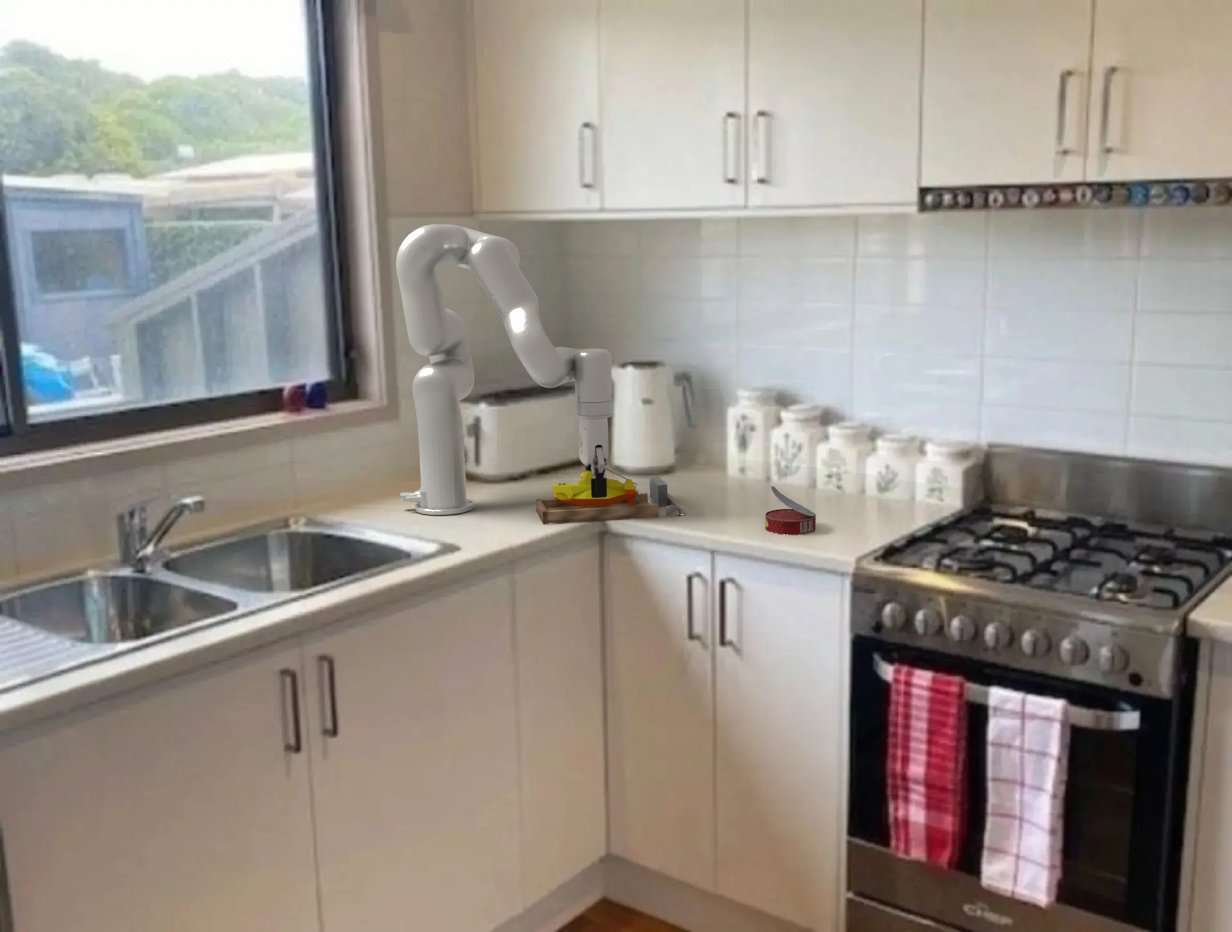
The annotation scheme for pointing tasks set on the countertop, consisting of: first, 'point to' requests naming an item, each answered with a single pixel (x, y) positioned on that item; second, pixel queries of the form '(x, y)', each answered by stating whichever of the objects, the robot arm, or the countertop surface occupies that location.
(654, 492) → the grey rectangular block
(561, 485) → the toy boat
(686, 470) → the countertop surface
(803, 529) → the canned food
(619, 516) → the bay
